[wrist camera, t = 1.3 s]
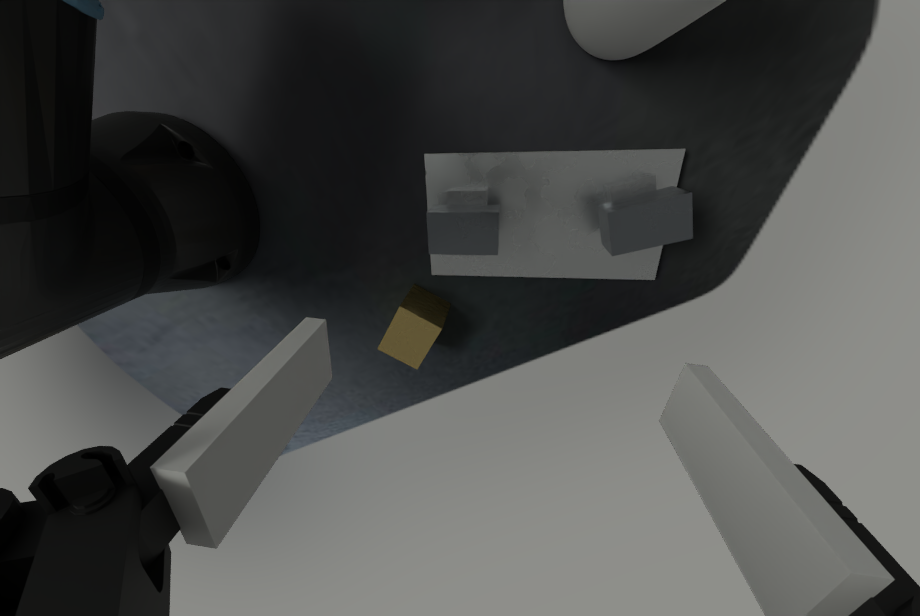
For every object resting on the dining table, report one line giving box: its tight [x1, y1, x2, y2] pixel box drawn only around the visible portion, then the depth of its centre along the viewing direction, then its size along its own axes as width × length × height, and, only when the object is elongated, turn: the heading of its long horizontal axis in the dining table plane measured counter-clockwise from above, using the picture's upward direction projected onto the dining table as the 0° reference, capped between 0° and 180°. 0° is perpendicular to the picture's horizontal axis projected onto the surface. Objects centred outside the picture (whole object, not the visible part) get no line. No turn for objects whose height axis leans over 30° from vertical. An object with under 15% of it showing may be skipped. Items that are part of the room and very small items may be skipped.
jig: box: [424, 148, 693, 280], centre depth 27 cm, size 19×10×6 cm, turn 91°
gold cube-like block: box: [378, 284, 451, 369], centre depth 33 cm, size 5×4×5 cm
